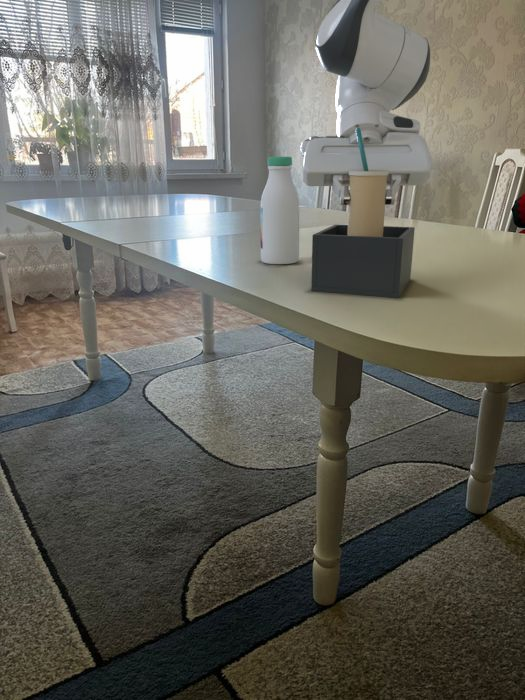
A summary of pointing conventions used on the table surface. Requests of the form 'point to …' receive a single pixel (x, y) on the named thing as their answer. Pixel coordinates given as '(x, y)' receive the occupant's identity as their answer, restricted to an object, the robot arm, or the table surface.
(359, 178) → the takeaway cup
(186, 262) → the table surface
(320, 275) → the bin
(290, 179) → the milk bottle
